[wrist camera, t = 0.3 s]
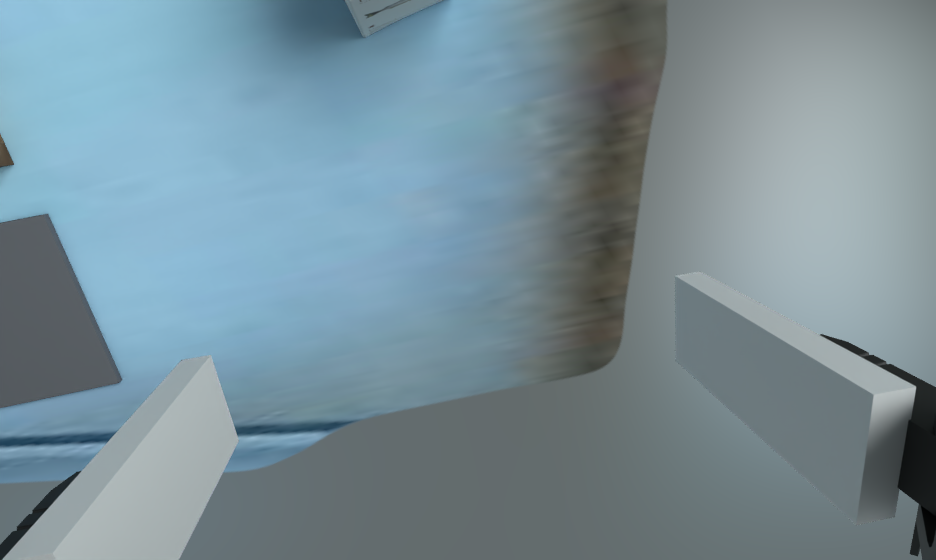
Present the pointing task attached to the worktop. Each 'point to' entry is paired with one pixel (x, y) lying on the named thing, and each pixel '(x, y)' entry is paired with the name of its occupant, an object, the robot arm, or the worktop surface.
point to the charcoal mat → (45, 319)
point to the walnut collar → (4, 155)
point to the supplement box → (383, 12)
